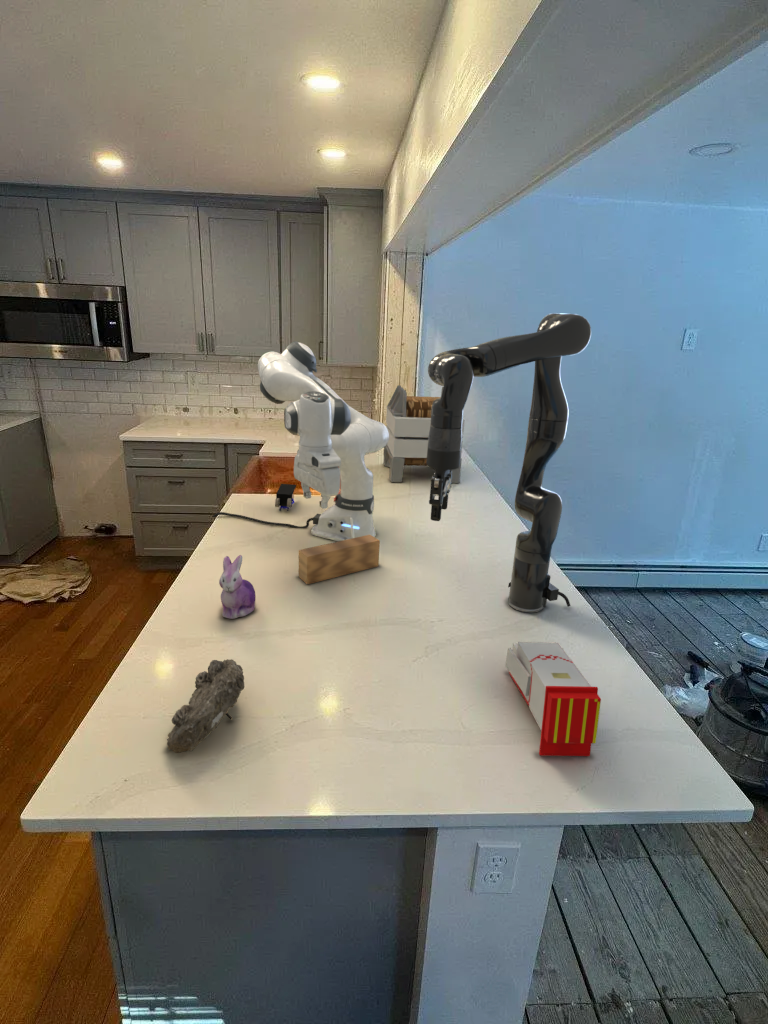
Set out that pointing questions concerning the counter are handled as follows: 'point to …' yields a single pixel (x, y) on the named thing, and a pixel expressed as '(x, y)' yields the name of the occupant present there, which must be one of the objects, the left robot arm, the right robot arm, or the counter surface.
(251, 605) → the figurine
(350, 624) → the counter surface
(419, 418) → the grey crate
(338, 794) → the counter surface
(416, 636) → the counter surface
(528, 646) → the toy
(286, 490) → the figurine character
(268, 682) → the counter surface
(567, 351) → the right robot arm
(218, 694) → the fossil
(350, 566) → the bar
